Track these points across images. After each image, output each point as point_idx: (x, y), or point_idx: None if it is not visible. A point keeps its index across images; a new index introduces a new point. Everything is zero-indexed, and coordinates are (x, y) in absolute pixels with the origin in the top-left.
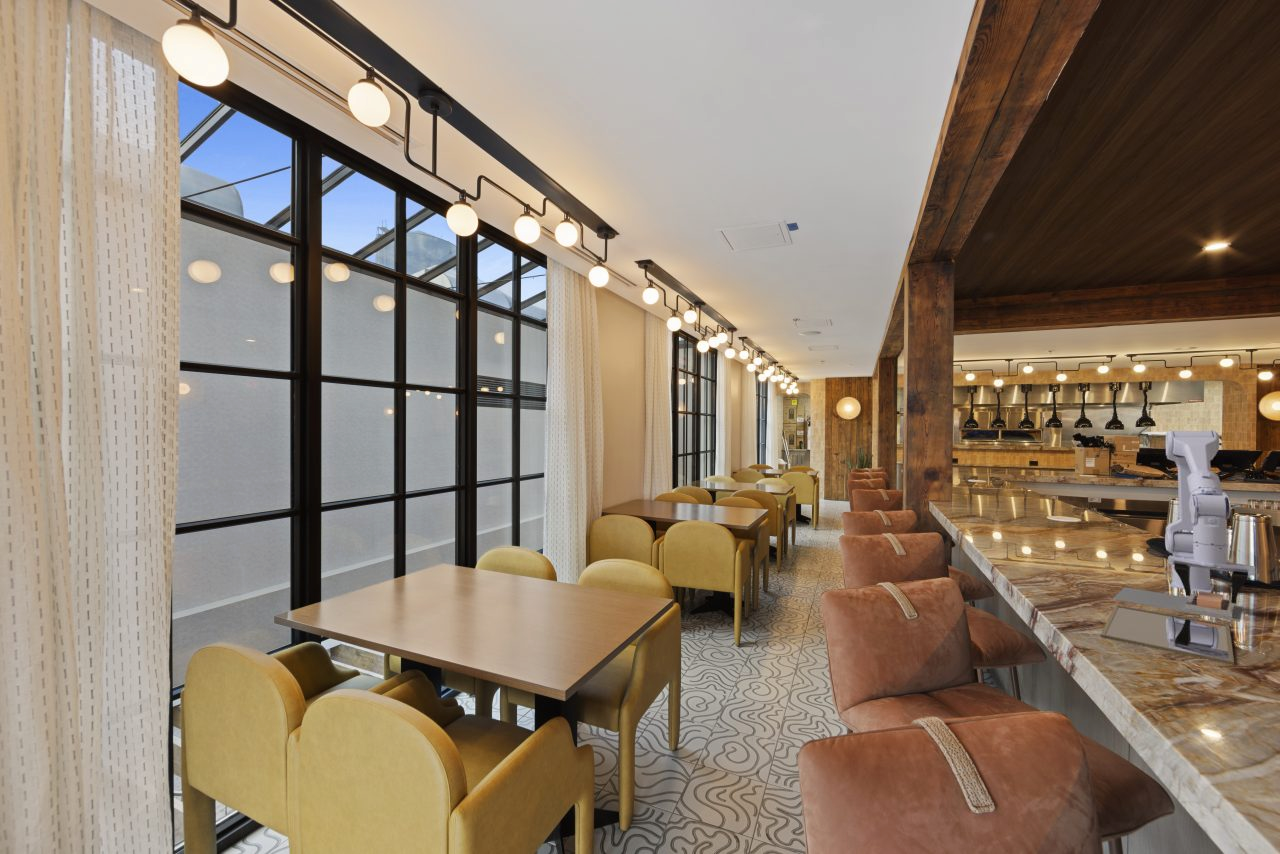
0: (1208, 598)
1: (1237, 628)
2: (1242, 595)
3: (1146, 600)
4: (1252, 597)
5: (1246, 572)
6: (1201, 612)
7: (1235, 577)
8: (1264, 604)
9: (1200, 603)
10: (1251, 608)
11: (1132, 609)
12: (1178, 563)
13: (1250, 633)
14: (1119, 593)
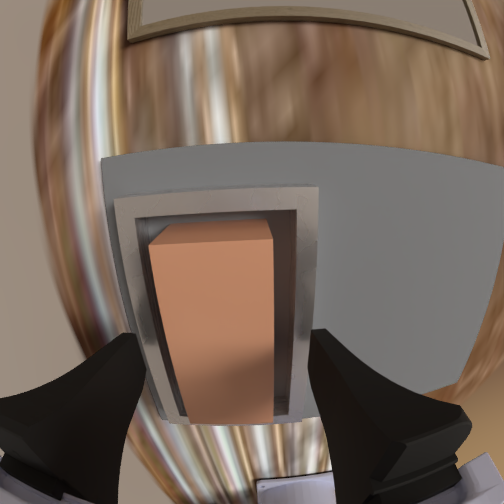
0: (218, 300)
1: (107, 52)
2: (204, 494)
3: (441, 246)
4: (186, 490)
5: (10, 476)
6: (243, 185)
7: (17, 419)
8: (149, 463)
9: (252, 230)
10: (148, 423)
11: (449, 30)
12: (433, 497)
13: (77, 28)
14: (492, 280)
